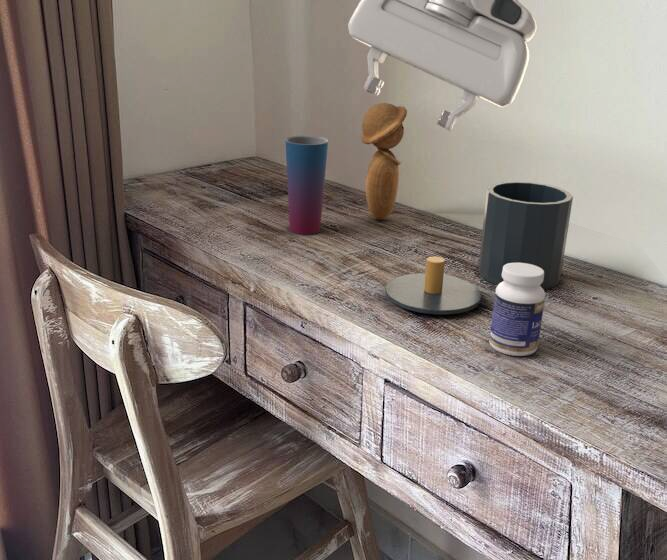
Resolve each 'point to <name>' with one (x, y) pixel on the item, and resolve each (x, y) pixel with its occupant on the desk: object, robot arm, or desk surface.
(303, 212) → the cup
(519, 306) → the pill bottle
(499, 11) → the robot arm
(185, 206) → the desk surface
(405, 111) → the figurine
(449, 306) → the can lid
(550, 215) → the can
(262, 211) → the desk surface
